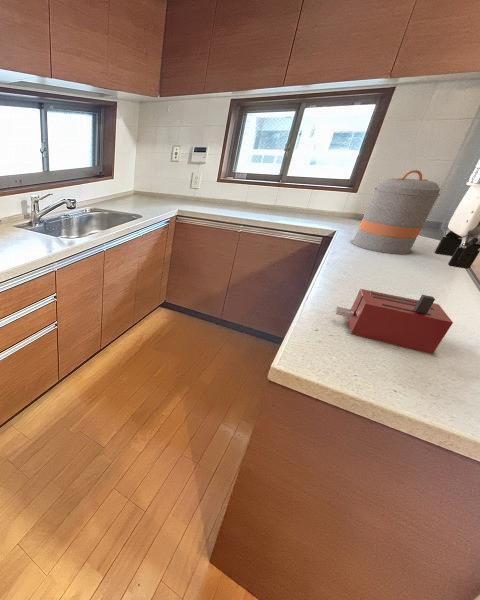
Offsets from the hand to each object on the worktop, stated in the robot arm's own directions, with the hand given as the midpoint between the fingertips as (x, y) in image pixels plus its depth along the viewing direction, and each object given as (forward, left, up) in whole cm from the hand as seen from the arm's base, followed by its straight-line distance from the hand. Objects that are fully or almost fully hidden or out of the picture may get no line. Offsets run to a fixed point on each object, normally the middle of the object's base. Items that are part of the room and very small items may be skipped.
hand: (450, 260), depth 72 cm
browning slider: (0, 0, -13) cm, 13 cm away
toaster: (+3, -3, -22) cm, 23 cm away
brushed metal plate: (+13, -3, -20) cm, 24 cm away
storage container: (-9, -106, -22) cm, 109 cm away
